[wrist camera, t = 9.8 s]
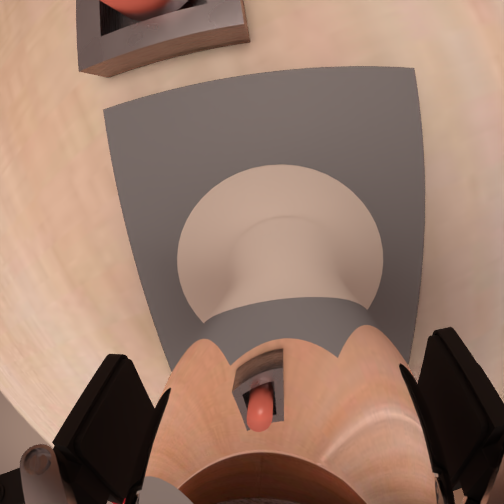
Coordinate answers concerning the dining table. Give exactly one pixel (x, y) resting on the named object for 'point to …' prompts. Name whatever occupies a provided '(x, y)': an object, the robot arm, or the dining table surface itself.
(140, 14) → the button
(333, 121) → the grey rectangular board
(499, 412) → the robot arm
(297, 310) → the beer glass
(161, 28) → the button housing
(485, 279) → the dining table surface
